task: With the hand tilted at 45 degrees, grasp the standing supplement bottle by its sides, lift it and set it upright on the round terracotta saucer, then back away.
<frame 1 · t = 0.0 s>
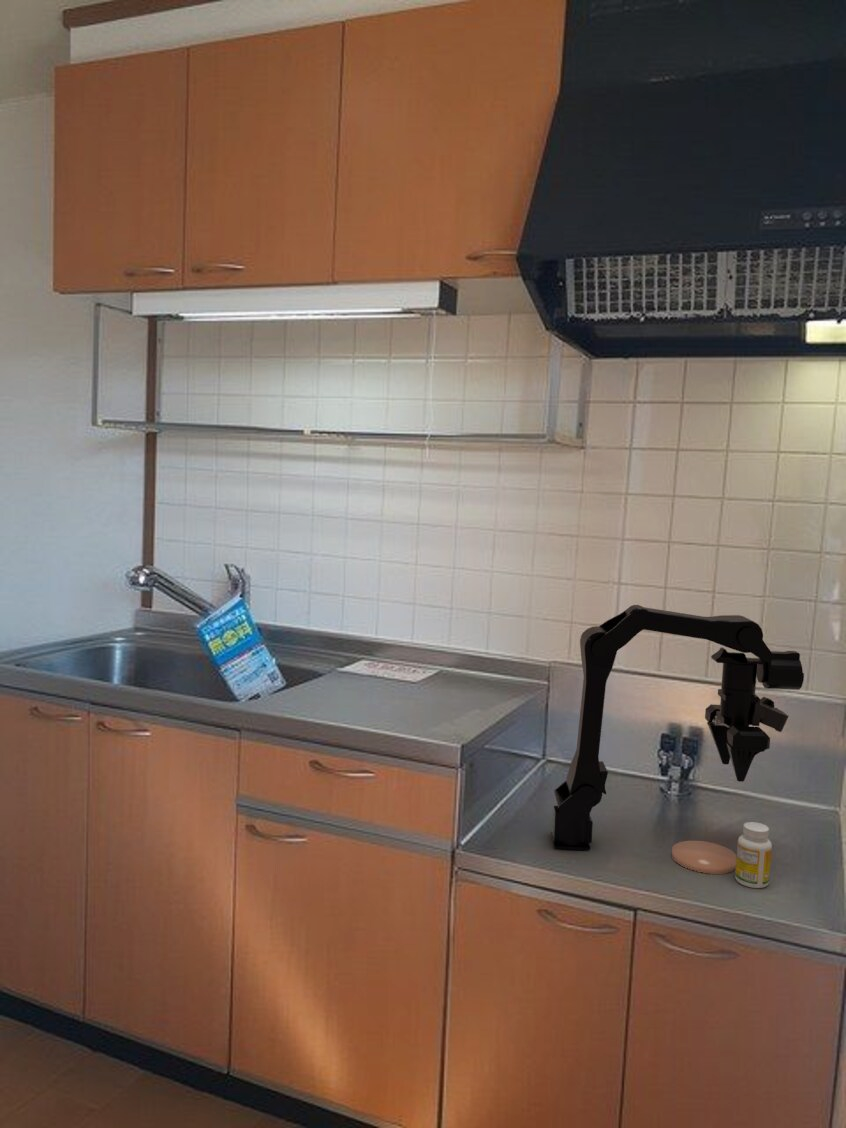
hand: (732, 772, 158), 15 cm above the worktop, tool pointing down, fingers open, 9 cm apart
supplement bottle: (751, 882, 148), on the worktop
saucer: (703, 860, 155), on the worktop
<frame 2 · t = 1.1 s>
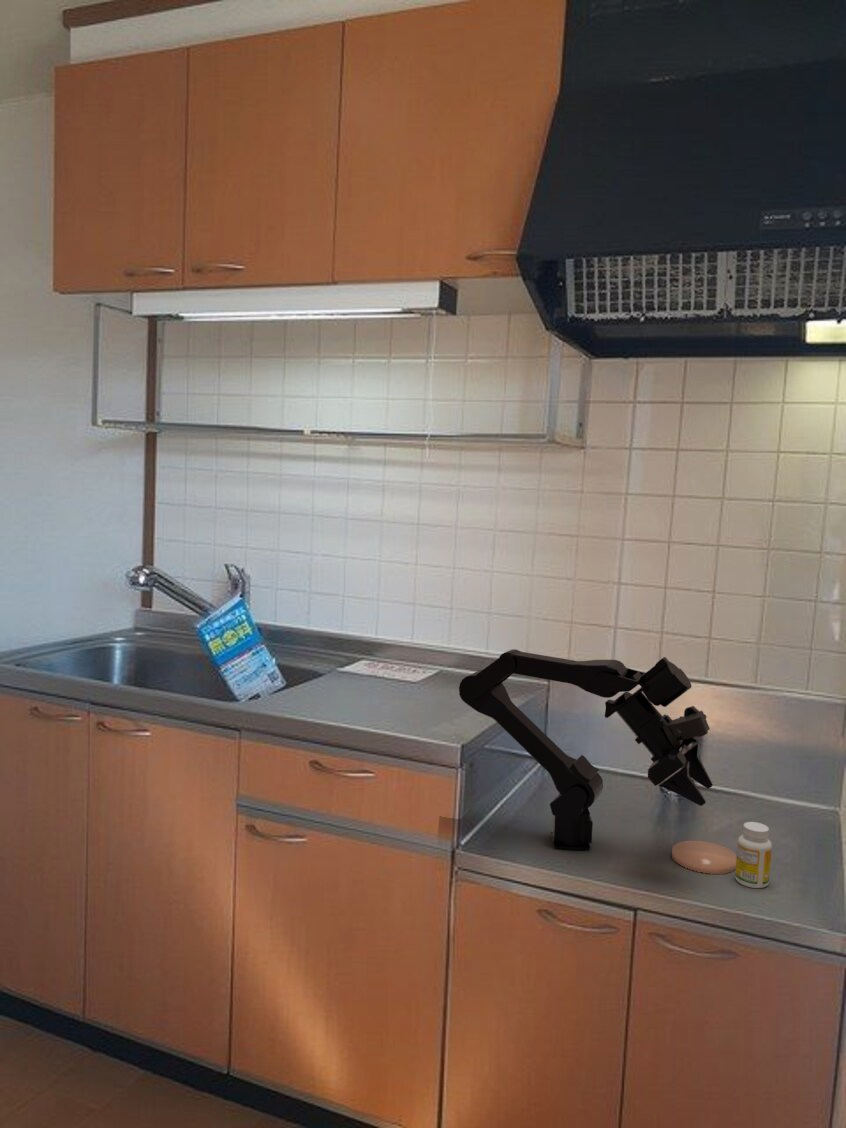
hand: (707, 795, 150), 13 cm above the worktop, tool tilted 45°, fingers open, 9 cm apart
nothing on the worktop moved.
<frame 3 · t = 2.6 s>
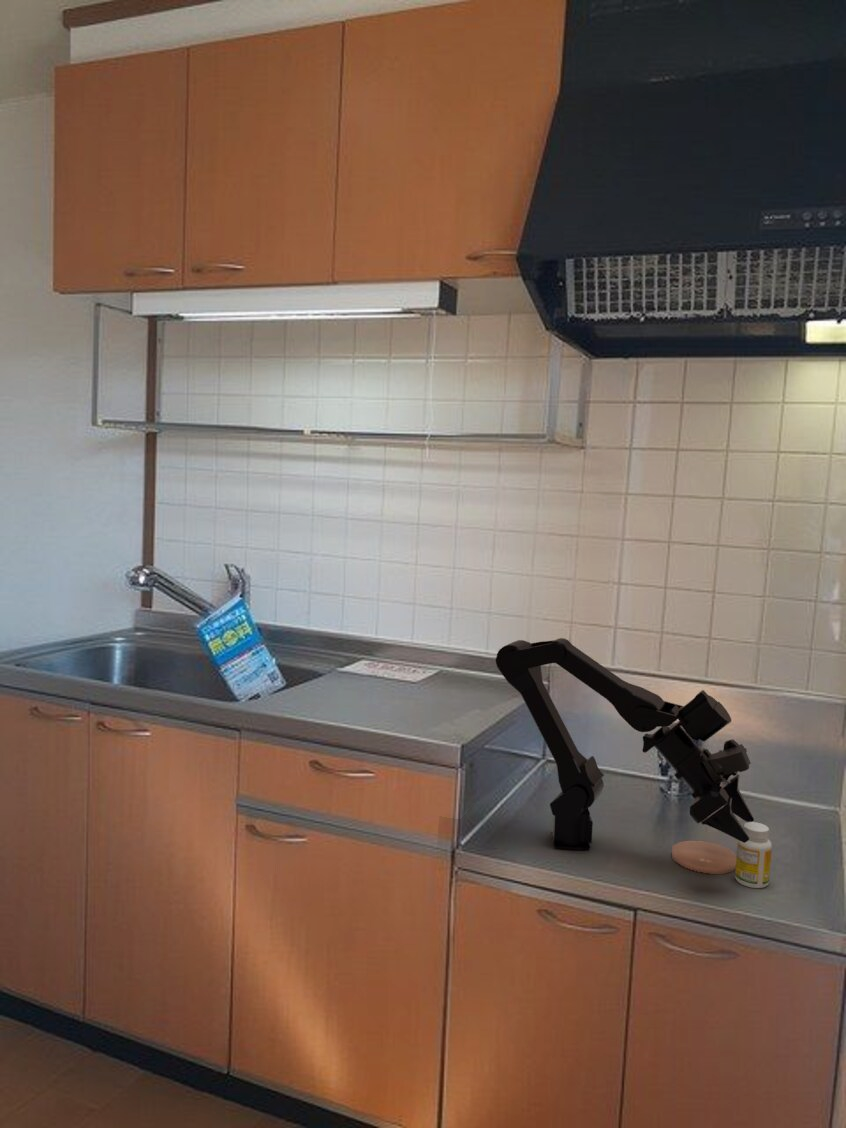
hand: (749, 831, 147), 9 cm above the worktop, tool tilted 45°, fingers open, 9 cm apart
nothing on the worktop moved.
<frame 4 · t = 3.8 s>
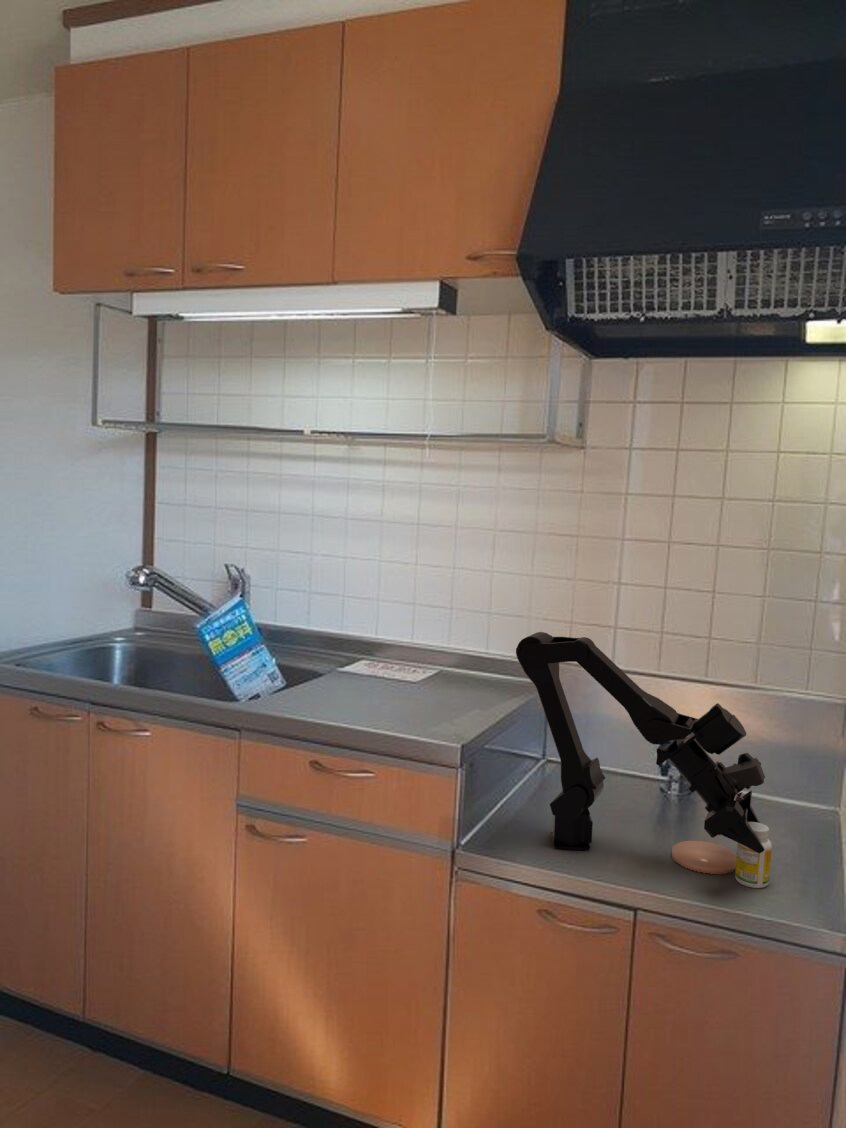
hand: (763, 845, 146), 7 cm above the worktop, tool tilted 45°, fingers closed on supplement bottle, 5 cm apart
supplement bottle: (751, 882, 148), on the worktop, touching gripper
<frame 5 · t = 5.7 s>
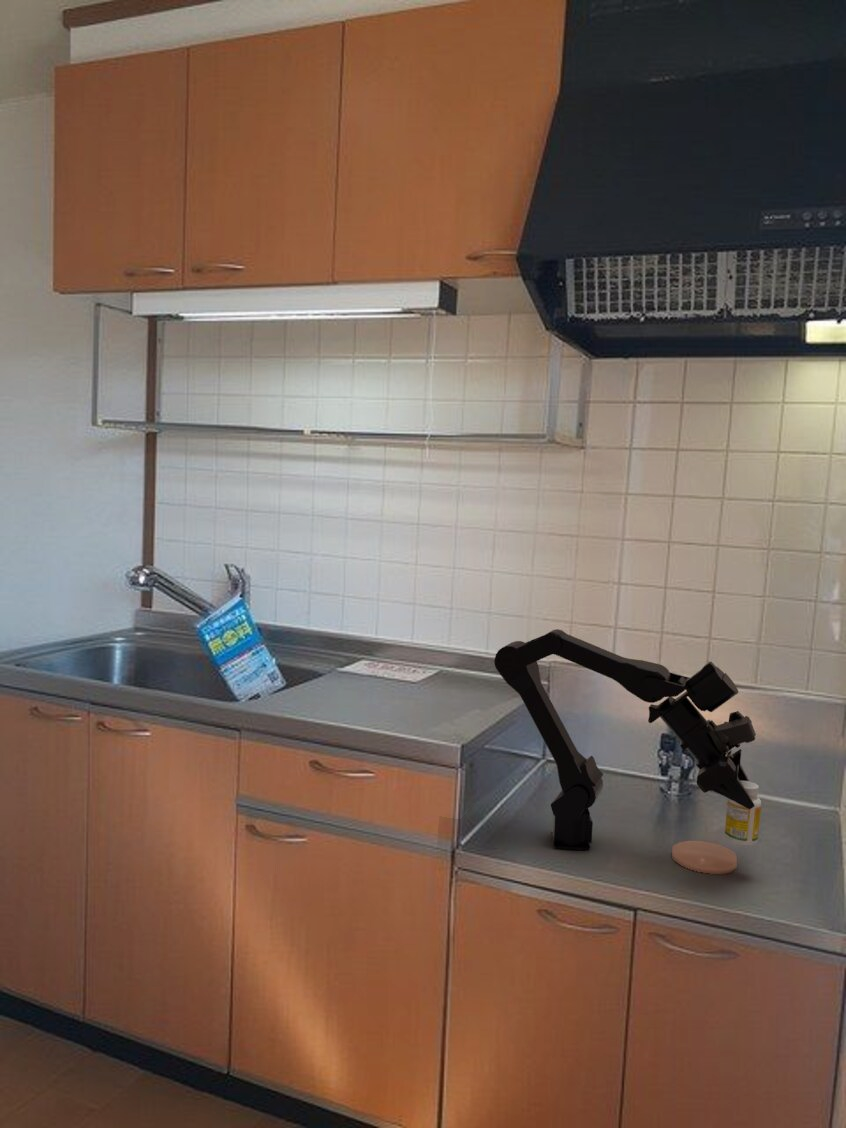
hand: (753, 801, 148), 13 cm above the worktop, tool tilted 45°, fingers closed on supplement bottle, 5 cm apart
supplement bottle: (741, 840, 149), point 6 cm above the worktop, touching gripper
when the fingers open (9 cm above the worktop, at t = 7.7 s): supplement bottle stays where it is, resting on saucer.
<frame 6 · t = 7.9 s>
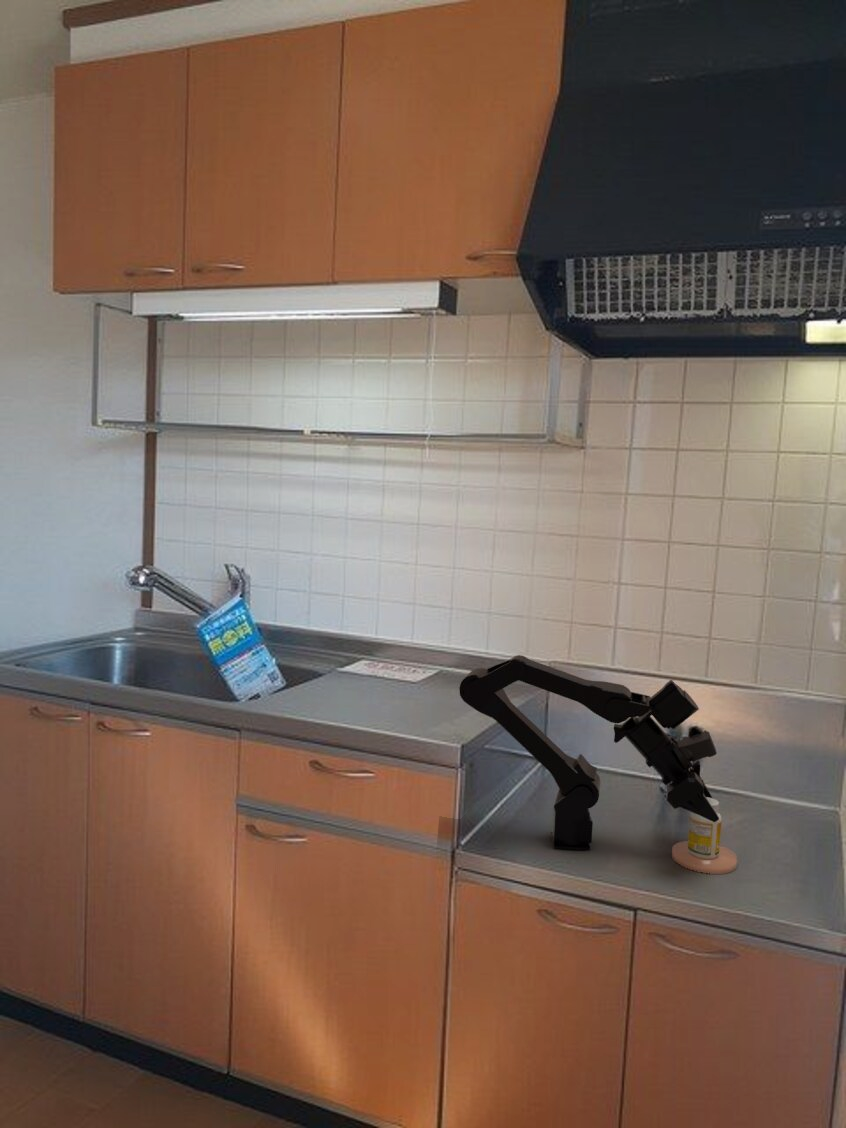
hand: (715, 812, 154), 9 cm above the worktop, tool tilted 45°, fingers open, 7 cm apart
supplement bottle: (703, 854, 155), point 1 cm above the worktop, touching saucer
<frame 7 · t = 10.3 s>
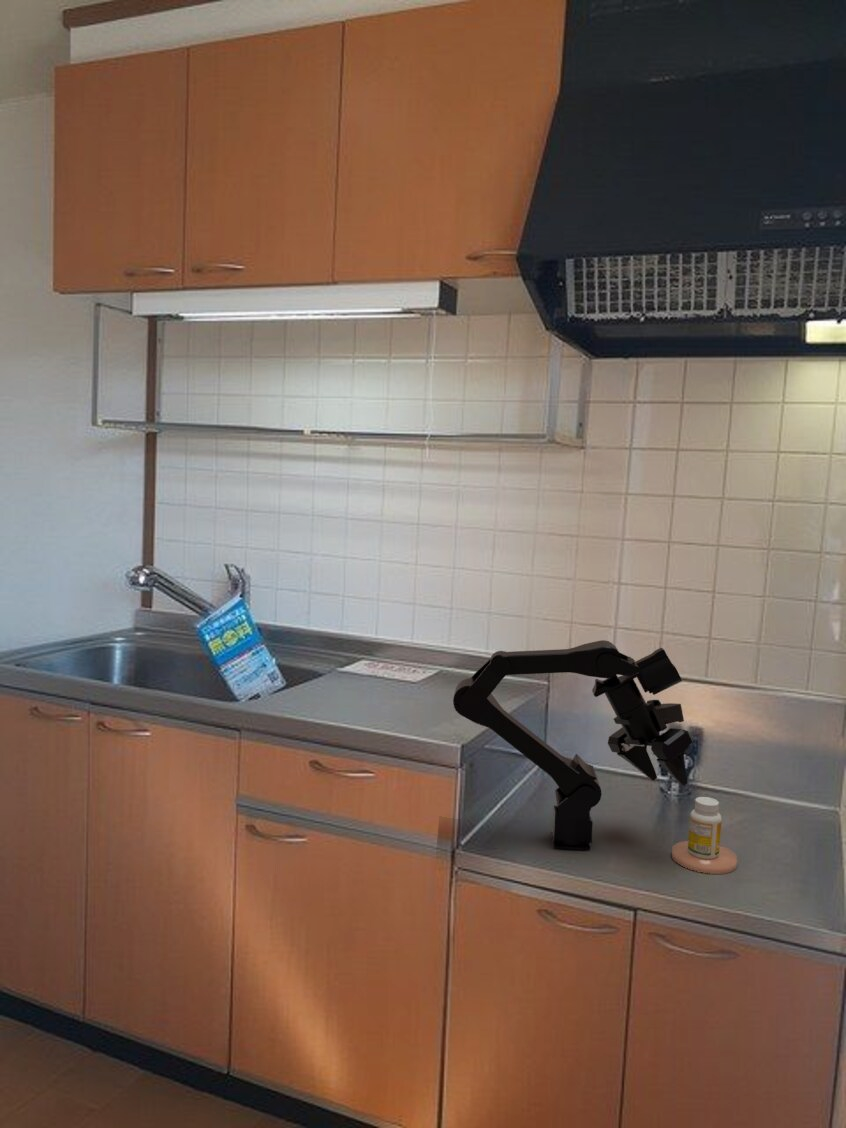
hand: (669, 782, 158), 13 cm above the worktop, tool tilted 30°, fingers open, 9 cm apart
nothing on the worktop moved.
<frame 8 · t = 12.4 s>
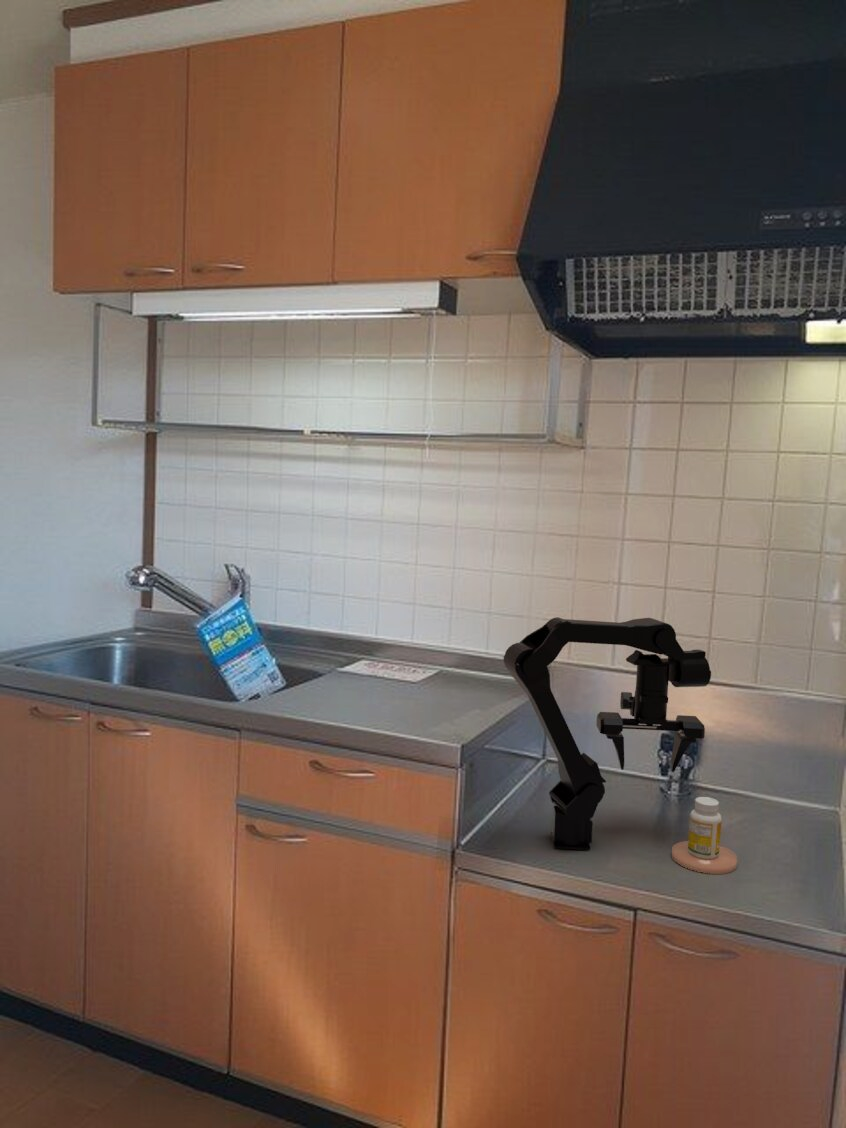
hand: (647, 770, 163), 13 cm above the worktop, tool pointing down, fingers open, 9 cm apart
nothing on the worktop moved.
at the end: supplement bottle 0.2 cm off-centre on the saucer, point 1.0 cm above the saucer's base; supplement bottle tilted 0°; the gripper is holding nothing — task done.
